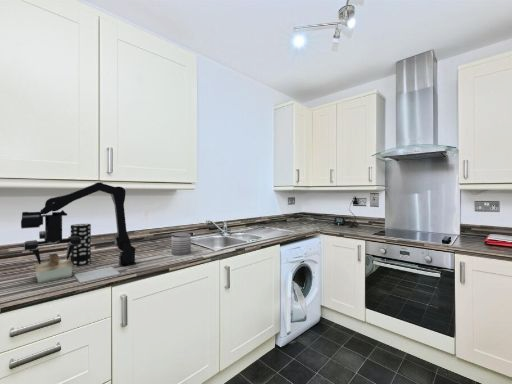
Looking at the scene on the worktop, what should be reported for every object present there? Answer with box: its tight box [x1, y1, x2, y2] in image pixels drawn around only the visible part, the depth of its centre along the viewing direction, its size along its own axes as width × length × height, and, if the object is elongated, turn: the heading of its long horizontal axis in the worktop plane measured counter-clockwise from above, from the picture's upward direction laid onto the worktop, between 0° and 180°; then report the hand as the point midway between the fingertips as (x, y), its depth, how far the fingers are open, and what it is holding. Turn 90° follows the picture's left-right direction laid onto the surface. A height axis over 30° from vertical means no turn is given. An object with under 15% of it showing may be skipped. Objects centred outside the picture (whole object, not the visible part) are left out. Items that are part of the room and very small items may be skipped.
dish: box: [35, 266, 73, 284], centre depth 107 cm, size 11×11×4 cm
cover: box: [33, 253, 74, 274], centre depth 107 cm, size 12×12×5 cm
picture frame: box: [73, 266, 121, 284], centre depth 109 cm, size 15×13×1 cm
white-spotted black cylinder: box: [70, 223, 92, 267], centre depth 125 cm, size 8×8×20 cm
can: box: [170, 232, 192, 257], centre depth 147 cm, size 11×11×12 cm
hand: (53, 262), depth 107 cm, fingers open, 9 cm apart
